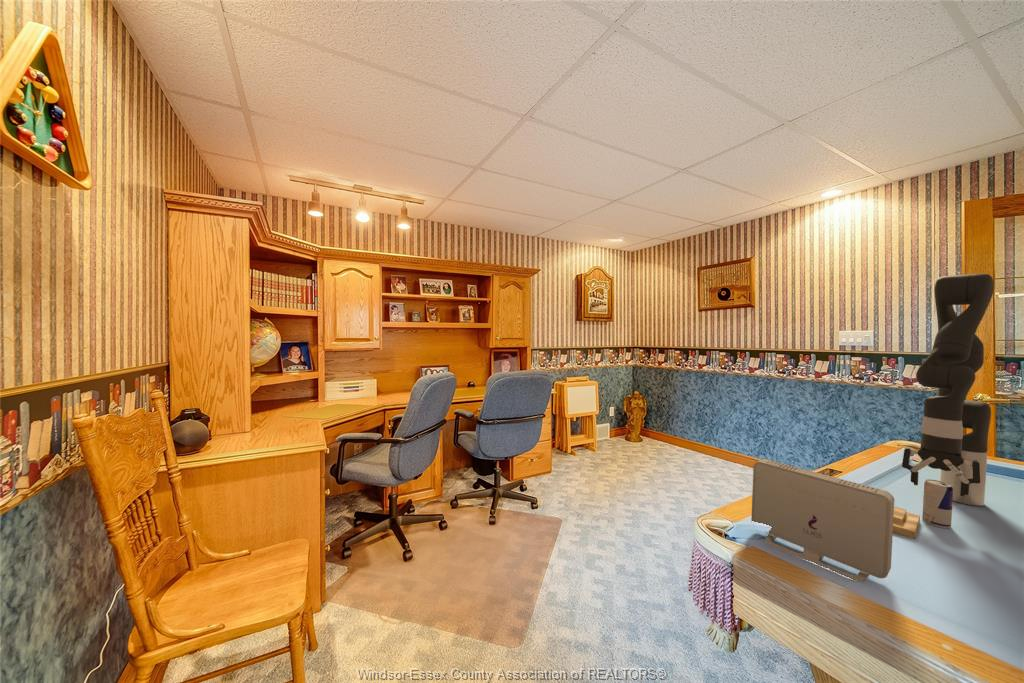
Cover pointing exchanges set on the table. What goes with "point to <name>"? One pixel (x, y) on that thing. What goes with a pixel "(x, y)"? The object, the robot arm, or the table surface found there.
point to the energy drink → (937, 503)
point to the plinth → (905, 523)
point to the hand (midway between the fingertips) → (938, 489)
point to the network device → (825, 517)
